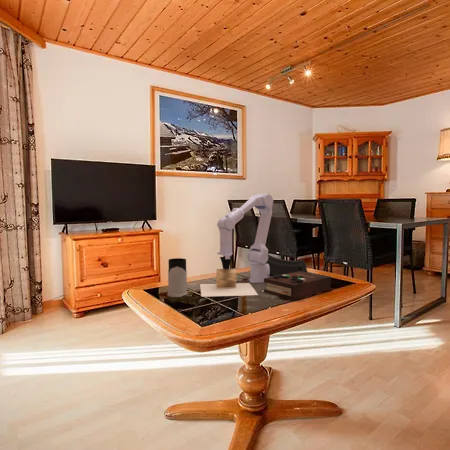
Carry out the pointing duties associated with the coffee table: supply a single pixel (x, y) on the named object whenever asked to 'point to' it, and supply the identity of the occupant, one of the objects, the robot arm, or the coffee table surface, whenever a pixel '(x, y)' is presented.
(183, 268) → the glass holder
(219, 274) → the tile
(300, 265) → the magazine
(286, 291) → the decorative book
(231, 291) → the mat
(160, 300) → the coffee table surface
